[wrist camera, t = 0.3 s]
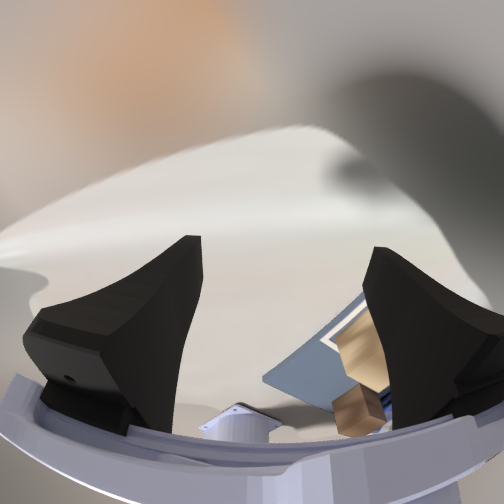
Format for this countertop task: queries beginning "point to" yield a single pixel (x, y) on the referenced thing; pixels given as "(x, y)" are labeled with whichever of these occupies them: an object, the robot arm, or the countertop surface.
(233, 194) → the countertop surface
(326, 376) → the board
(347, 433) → the walnut block
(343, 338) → the oak base block
